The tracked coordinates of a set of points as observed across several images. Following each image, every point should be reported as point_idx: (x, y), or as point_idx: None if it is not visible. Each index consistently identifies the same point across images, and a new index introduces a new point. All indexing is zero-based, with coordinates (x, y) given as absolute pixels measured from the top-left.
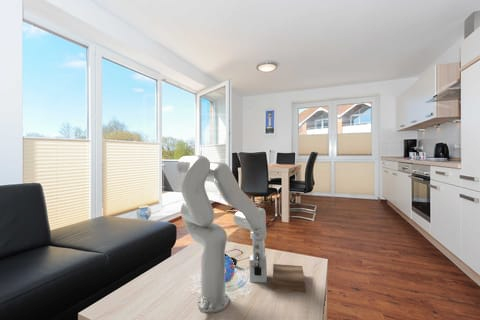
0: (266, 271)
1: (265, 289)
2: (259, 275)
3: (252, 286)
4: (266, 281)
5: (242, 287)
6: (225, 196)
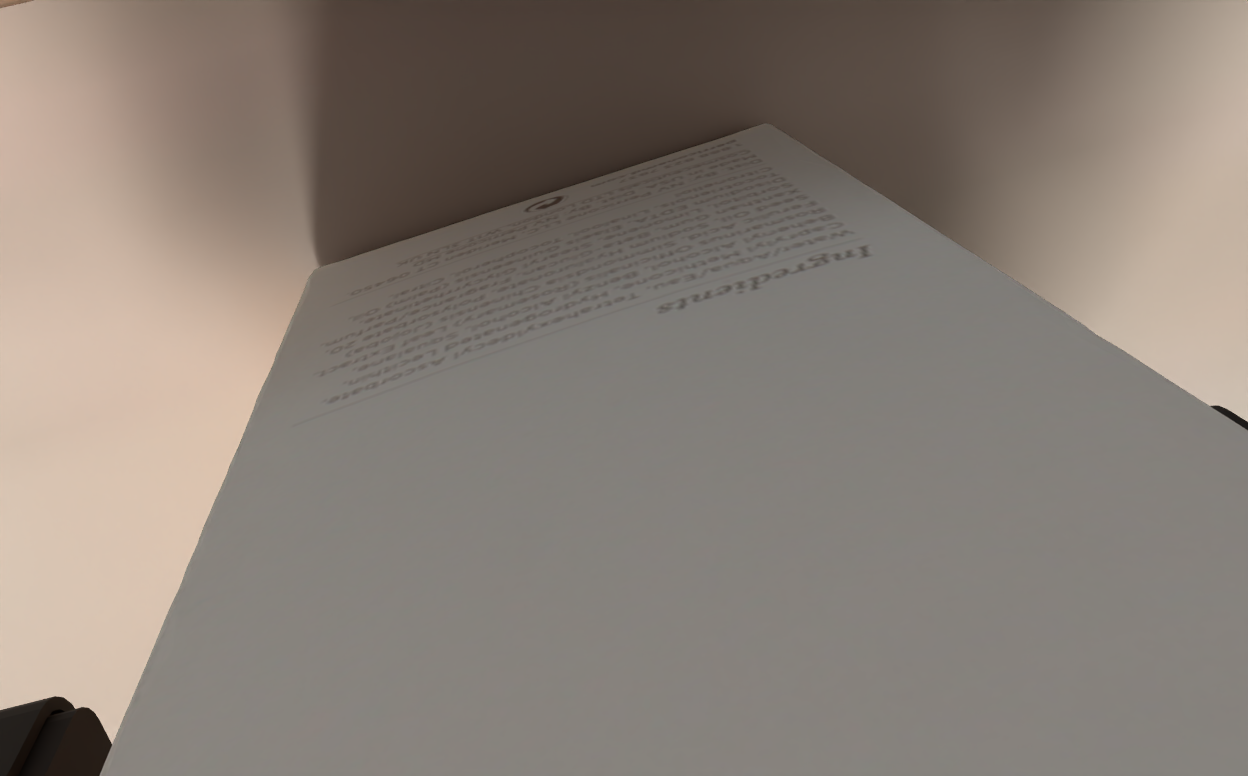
0: (945, 245)
1: (1213, 31)
2: None
3: None
4: (783, 133)
5: None
6: None
